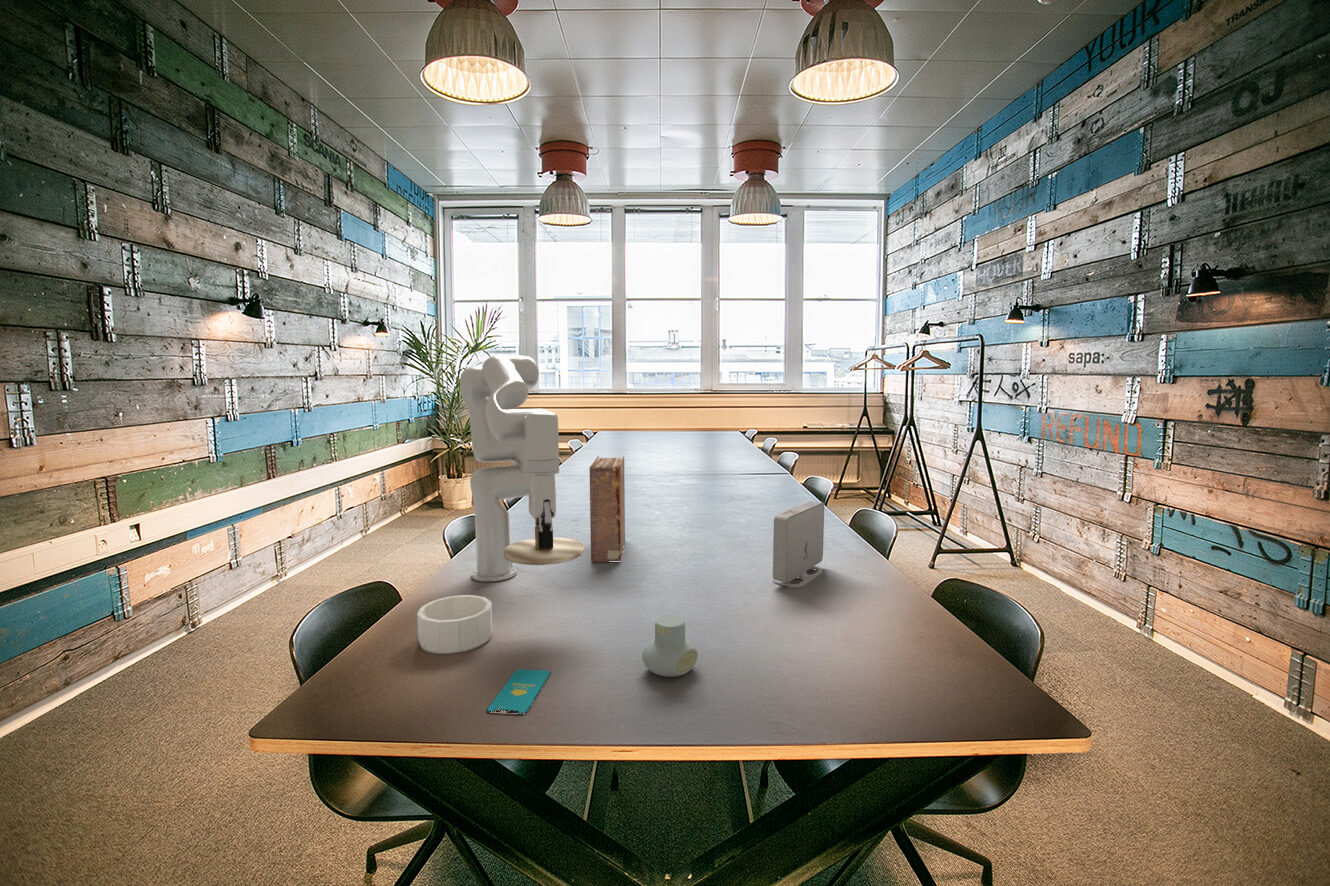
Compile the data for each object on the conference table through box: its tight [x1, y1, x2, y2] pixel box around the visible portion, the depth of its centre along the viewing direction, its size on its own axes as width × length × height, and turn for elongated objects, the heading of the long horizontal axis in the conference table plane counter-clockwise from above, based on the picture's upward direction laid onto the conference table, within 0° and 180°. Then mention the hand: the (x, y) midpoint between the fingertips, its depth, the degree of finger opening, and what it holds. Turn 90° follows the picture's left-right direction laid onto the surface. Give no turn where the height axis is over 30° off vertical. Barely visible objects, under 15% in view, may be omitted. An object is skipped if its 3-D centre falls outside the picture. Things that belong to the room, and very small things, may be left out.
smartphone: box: [486, 668, 552, 714], centre depth 109 cm, size 7×1×15 cm
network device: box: [772, 500, 825, 588], centre depth 170 cm, size 26×9×20 cm, turn 143°
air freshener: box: [641, 615, 699, 678], centre depth 116 cm, size 11×8×10 cm
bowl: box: [416, 594, 494, 655], centre depth 131 cm, size 15×15×7 cm
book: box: [589, 455, 626, 563], centre depth 195 cm, size 25×9×30 cm, turn 1°
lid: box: [504, 525, 585, 566], centre depth 136 cm, size 18×18×6 cm
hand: (544, 544), depth 136 cm, fingers closed on lid, 4 cm apart
